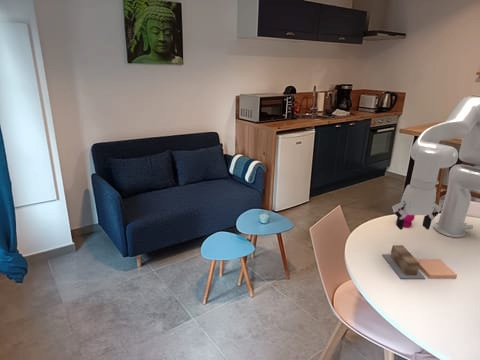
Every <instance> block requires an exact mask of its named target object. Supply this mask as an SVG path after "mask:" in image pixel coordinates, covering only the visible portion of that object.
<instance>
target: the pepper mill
mask: <svg viewBox="0 0 480 360" xmlns="http://www.w3.org/2000/svg"><path fill="white" fill-rule="evenodd" d="M400 210H401V209H400V208H399V209H398V212H399V211H400ZM415 216H416V215H407V216H406V217H405V218H403V219H404V225H403V228H411V227H412V224H413V221H414V220H415Z"/></svg>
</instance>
